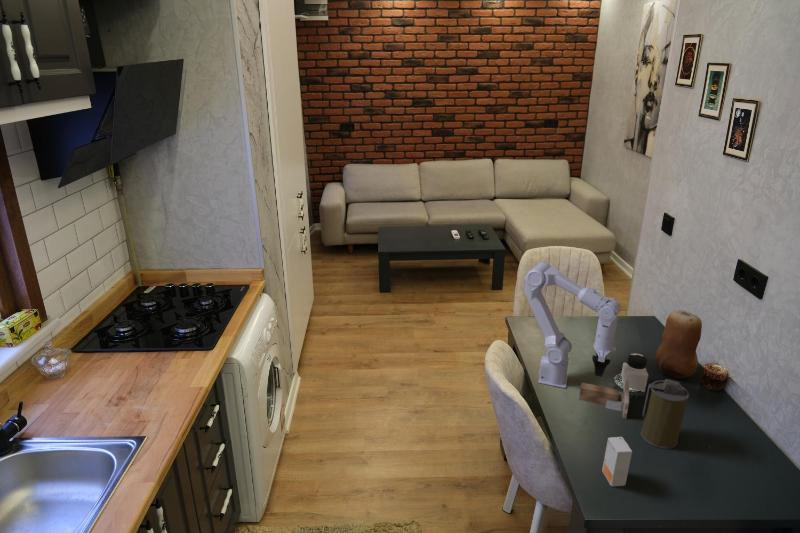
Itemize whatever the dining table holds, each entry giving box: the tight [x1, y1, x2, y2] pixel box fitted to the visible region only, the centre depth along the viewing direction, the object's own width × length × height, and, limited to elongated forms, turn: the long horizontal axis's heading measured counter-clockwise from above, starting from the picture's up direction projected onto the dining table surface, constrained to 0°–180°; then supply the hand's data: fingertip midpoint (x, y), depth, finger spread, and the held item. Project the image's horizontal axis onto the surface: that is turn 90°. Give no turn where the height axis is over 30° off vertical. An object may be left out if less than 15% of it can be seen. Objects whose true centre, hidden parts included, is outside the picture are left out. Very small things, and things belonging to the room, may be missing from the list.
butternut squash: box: [653, 309, 703, 380], centre depth 193 cm, size 14×13×25 cm
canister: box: [640, 378, 690, 450], centre depth 161 cm, size 11×10×20 cm
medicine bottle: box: [620, 353, 649, 393], centre depth 188 cm, size 7×7×12 cm
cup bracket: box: [605, 391, 624, 412], centre depth 180 cm, size 5×7×3 cm
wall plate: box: [622, 380, 630, 420], centre depth 178 cm, size 1×14×6 cm, turn 158°
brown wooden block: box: [578, 381, 620, 406], centre depth 181 cm, size 12×3×5 cm, turn 70°
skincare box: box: [601, 436, 633, 487], centre depth 147 cm, size 6×4×12 cm
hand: (599, 369), depth 182 cm, fingers open, 7 cm apart
